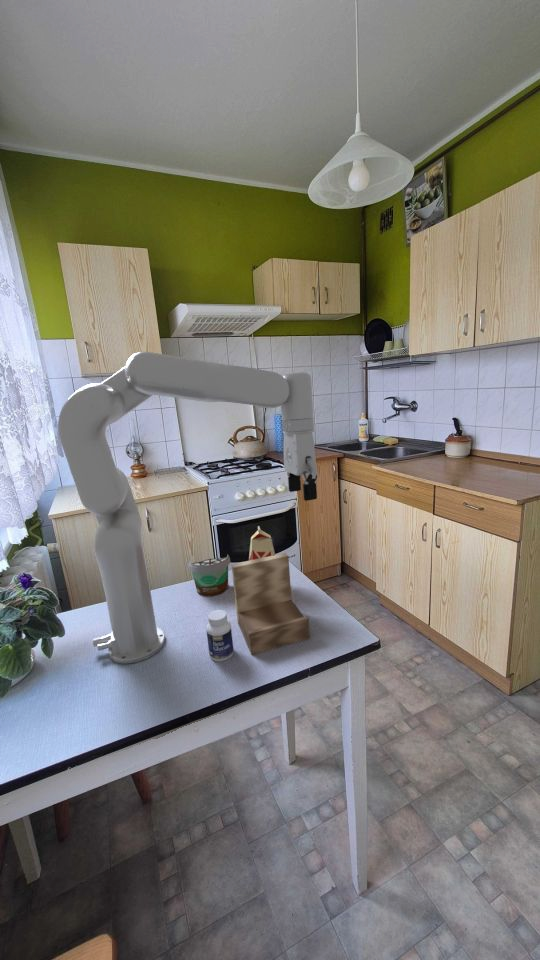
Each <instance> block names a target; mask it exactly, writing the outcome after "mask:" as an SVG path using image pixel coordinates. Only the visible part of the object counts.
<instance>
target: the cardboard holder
mask: <svg viewBox="0 0 540 960" xmlns="http://www.w3.org/2000/svg"><path fill="white" fill-rule="evenodd" d="M289 560H290V559H289V555H288V554H287V553H286V552H285V553H280V554H275V555H274V556H269V557H264V558H259V559H255V560H250V561H249V560H246V561H241V562H236V563H232V564H231V563H230V564H231V573H232V582H233V584H232V585H233V590H234V592H233V593H234V602H235V610H236V617H237V619H236V621H237V625H238V627H239V629H240V633H241V634H242V637H243V639H244V641H245V643H246V645H247V648H248V650H249V653H250V655H251V656H253V655H256V654H259V653H263V652H266V651H270V650H274V649H277V648H280V647H281V648H282V647H283V646H288V645H292V644H295V643H299V642H302V641H305V640H309V639H311V632H310V619H309V617H308V615H306V616H304V614H303V613H302V612H301V610H300V609H299V607H298V606H297V605H296V603H295V602H294V601H293V599H292V588H291V587H292V585H291V575H290V561H289Z"/></svg>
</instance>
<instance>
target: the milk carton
mask: <svg viewBox="0 0 540 960" xmlns="http://www.w3.org/2000/svg"><path fill="white" fill-rule="evenodd" d="M248 555H249V556H248V561H250V560H255V559H259V558H264V557H269V556H274V555H276V553H275V548H274V544H273V540H272V537H271V535H270V534H268V533H267V532H265V531H263V530H262V529H261V527H260V525H258V526H257V530H256V532H255V533H254V534H253V535H252V536H251V537H250V545H249V554H248Z"/></svg>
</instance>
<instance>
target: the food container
mask: <svg viewBox="0 0 540 960" xmlns="http://www.w3.org/2000/svg"><path fill="white" fill-rule="evenodd" d="M230 564H231V558H230V556H229V555H227V556H224V557H221V558H208V559H205V560H202V561H196V562H191V561H189V562H188V569H189V570H190V572H191V573H192V576H193V577H192V578H193V582H194V584H195V589H196V593H197V594H198V596H202V597H209V598H210V597H211V598H212V597H217V596H220V595H221V594H224V593H225V592H227V591H228V589H229V565H230Z"/></svg>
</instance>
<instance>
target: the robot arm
mask: <svg viewBox="0 0 540 960" xmlns="http://www.w3.org/2000/svg"><path fill="white" fill-rule="evenodd" d="M312 387H313V386H312V376H311V375H310V373H307V372H292V373H291V372H290V373H285V374H283V375H282V374H280V373H278V372H275V371H271V370H267V369H266V370H265V369H260V368H253V367H247V366H241V365H240V366H239V365H233V364H232V365H231V364H225V363H218V362H214V361H213V362H212V361H207V360H200V359H199V360H198V359H192V358H186V357H181V356H174V355H171V354H164V353H157V352H151V351H138V352H136V353H133V354H132V355H130V357H129V358H128V360H127V361H126V364H125V366H124V367H121V369H120V370H118V371H117V372H115V373H114V374H113V375H112V376H110V377H108V378H107V379H105V380H104V381H102V382H101V383H98V382H97V383H96V382H95V383H90V384H86V385H84V386H82V387H81V388H79V389H77V390H76V391H74V392H73V394H71V395H70V396H69V397H68V398H67V400H66V401H65V402H64V404H63V406H62V407H61V408H60V409H61V410H60V412H59V416H58V421H57V422H58V423H57V430H58V431H57V432H58V437H59V441H60V444H61V447H62V450H63V452H64V456H65V457H66V458H65V459H66V460H67V464H68V467H69V471H70V473H71V476H72V479H73V482H74V485H75V487H76V490H77V494H78V496H79V499H80V502H81V504H82V506H83V507H84V508H85V509H86V511H88V512H89V513H90V514H92V515H95V518H96V520H97V523H98V528H97V530H96V534H95V537H94V541H93V543H94V544H93V547H94V548H93V549H94V555H95V558H96V562H97V565H98V568H99V571H100V576H101V581H102V585H103V590H104V595H105V596H104V597H105V601H106V605H107V611H108V615H109V621H110V628H111V632H108V633H107V634H106V635H102V636H98V637H97V636H96V637H94V638H92V645H93V647H97V651H104V650H108V656H109V658H110V660H112V661H113V662H115V663H118V664H134V663H138V662H141V661H145V660H147V659H149V658H151V657H152V656H154V655H155V654H156V653H158V652H159V651H160V650H161V648H163V646H164V644H165V641H166V637H165V636H166V635H165V632H164V631H163V630H162V628H160V627H158V626H157V622H156V617H155V616H156V615H155V612H154V611H155V610H154V605H153V598H152V592H151V586H150V580H149V575H148V568H147V563H146V557H145V551H144V544H143V522H142V518H141V515H140V512H139V509H138V506H137V502H136V500H135V497H134V494H133V492H132V488H131V485H130V482H129V480H128V478H127V475H125V473H124V472H123V471H122V470H121V469H120V468H118V467H117V466H116V464H115V461H114V457H113V455H112V451H111V448H110V445H109V442H108V440H107V437H106V436H107V435H106V430H107V427H108V426H109V425H112V424H113V423H116V422H117V421H119V420H120V419H122V418H123V417H124V416H125V415H127V414H129V413H130V412H132V410H134V409H136V408H137V407H138V406H140V405H141V404H143V403H144V402H146V401H147V400H149V398H151V397H152V396H153V395H154V396H161V397H167V398H168V397H169V398H174V399H175V398H177V399H182V400H189V401H190V400H191V401H196V402H204V403H218V402H219V403H232V404H234V403H236V404H240V405H241V404H242V405H249V406H254V407H256V408H260V409H261V408H262V409H275V408H276V409H277V408H278V407H280V412H281V428H282V434H283V447H282V448H283V469H284V470H285V471H286V472H287V473H286V474H287V484H288V491H289V492H290V493H293V492H299V491H303V494H302V495H303V500H304V502H306V501H308V502H309V501H313V500H314V501H315V500H317V498H318V491H317V490H318V489H317V483H318V471H319V470H318V469H319V468H318V466H317V460H316V459H317V458H316V449H315V447H316V446H315V441H314V434H313V432H315V421H314V406H313V404H314V403H313V388H312ZM301 478H302V480H303V484H301V483H302V482H301ZM301 485H302V486H301ZM302 488H303V489H302Z"/></svg>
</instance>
